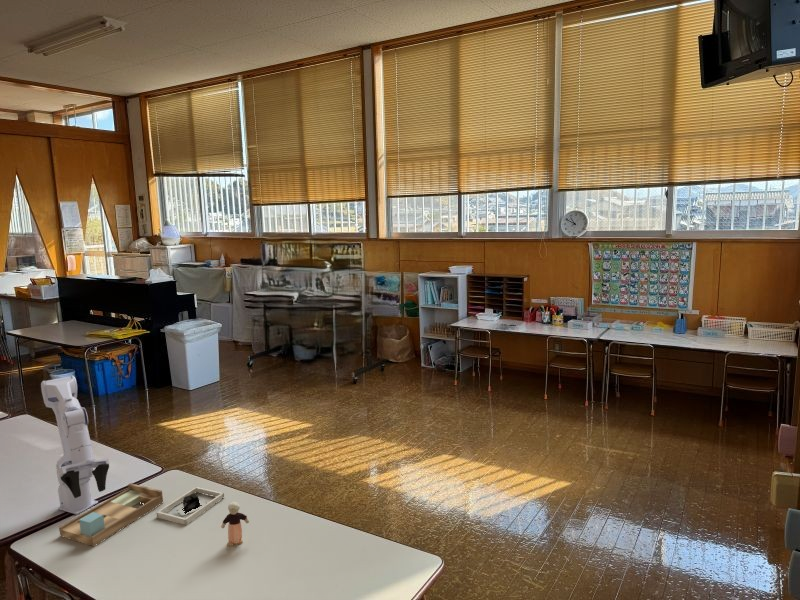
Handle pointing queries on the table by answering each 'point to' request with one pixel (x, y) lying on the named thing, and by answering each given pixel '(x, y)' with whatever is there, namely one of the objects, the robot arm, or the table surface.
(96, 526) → the teal block
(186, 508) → the black angular piece
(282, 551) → the table surface
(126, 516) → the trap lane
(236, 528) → the grandmother figurine
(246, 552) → the table surface
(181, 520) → the frame
